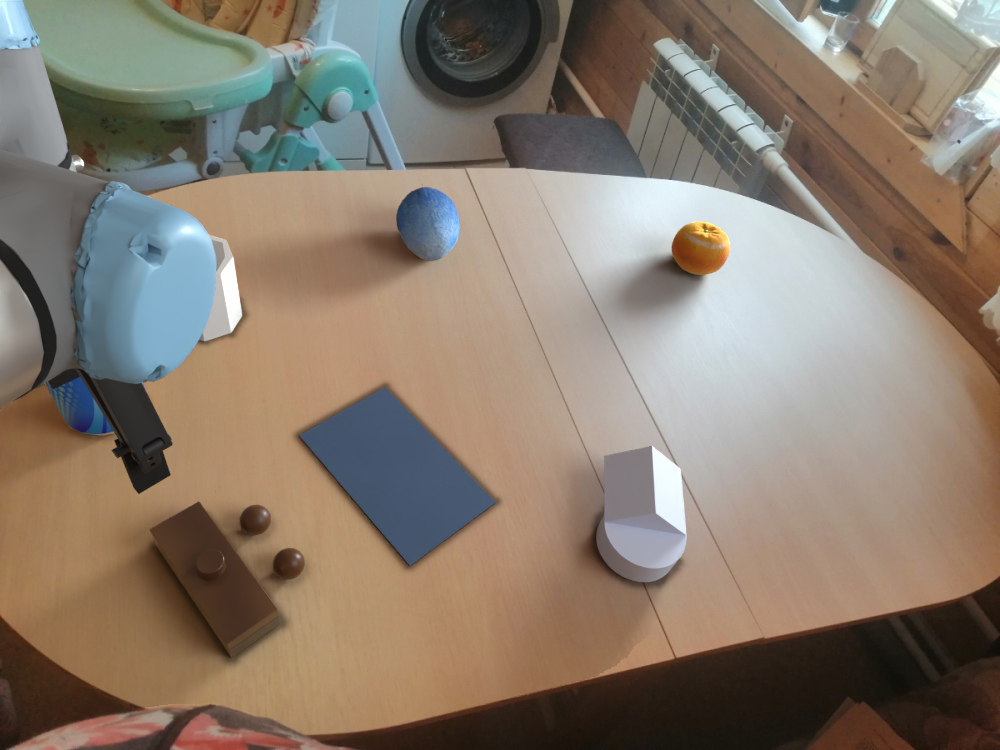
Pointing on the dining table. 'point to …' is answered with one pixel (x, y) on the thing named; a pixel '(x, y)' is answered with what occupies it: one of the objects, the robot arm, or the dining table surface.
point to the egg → (428, 223)
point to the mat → (397, 474)
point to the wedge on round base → (642, 514)
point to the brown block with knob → (216, 578)
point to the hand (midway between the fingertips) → (108, 428)
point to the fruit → (700, 248)
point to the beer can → (80, 408)
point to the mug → (223, 294)
